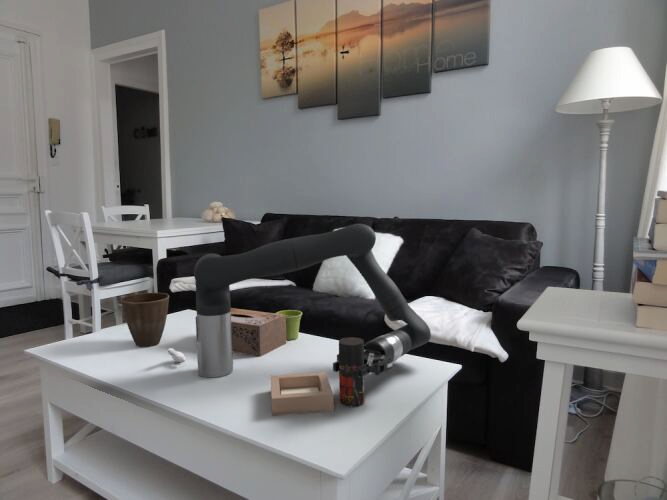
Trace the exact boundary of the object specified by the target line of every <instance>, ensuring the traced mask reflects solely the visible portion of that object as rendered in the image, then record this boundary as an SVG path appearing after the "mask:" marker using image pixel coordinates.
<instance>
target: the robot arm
mask: <svg viewBox="0 0 667 500" xmlns="http://www.w3.org/2000/svg"><path fill="white" fill-rule="evenodd" d="M376 239H377V235H376V233H375V231H374V229H373V228H372V227H370V226H369V225H367V224H364V223H354V224H351V225H348V226H344V227H342V228H339V229H336V230H333V231H328V232H324V233H319V234H310V235H304V236H299V237H292V238H287V239H282V240H277V241H274V242H270V243H268V244H264V245H262V246H259V247H256V248H255V249H251V250H249V251H246V252H243V253H237V254H230V255H220V254H217V253H207V254H204V255H203V256H201V257H200V258H199V259H198V260H197V261H196V264H195V267H194V274H193V276H194V280H195V281H194V282H195V302H196V303H195V306H196V307H195V308H196V310H195V311H196V316H197V330H198V341H197V340H196V351H197V352H196V353H197V355H196V356H197V371H198V372H197V373H198V374H197V376H198V377H204V378H218V377H219V378H220V377H224V376H227V375H229V374H231V373H233V371H234V361H233V360H234V358H233V357H234V356H233V352H232V329H231V308H232V307H231V291H230V288H231V287H230V286H231V285H234V284H237V283H240V282H244V281H246V280H247V281H248V280H251V279H257V278H265V277H266V278H267V277H270V276H271V277H272V276H277V275H282V274H287V273H291V272H297V271H300V270H303V269H306V268H309V267H312V266H314V265H315V266H316V265H317V264H319V263H322V262H324V261H326V260H329V259H334V258H338V257H344V256H345V257H347V259H348V260H349V261H350V262H351V264H352V265H353V266H354V267H355V269H357V271H358V272H359V274H360V276H361V277H362V278H363V279H364V281H365V282H366V284H367V285H368V287H369V288H370V291H372V293H373V295H374V297H375V298H376V300H377V302H378V304H379V305H380V307H381V309H382V311H383V312H384V314H385V316H386V317H387V319H388V320H389V321H391V322H396V321H402V322H404V323H405V325H403V326H401V327H399V328H397V329H395V330H393V331H391V332H388V333H386V334H383V335H380V336H377V337H375V338H374V339H372V340H371V339H370V341H367V342H366V343H364V365H362V366H360V367H358V368H357V369H356V377H357V378H360V377H362V376H364V377H365V376H366V375H372V374H373V373H374V376H379V375H382V374H384V373H387V372H389V371H391V370H393V363H394V362H396V361H397V360H398V359H400V358H402V356H405V355H406V354H407V353H408V352H409V351H412V350H414V349H416V348H418V347H421V346H423V345H425V344H427V343H428V342H430V340H431V338H432V333H431V328H430V327H429V325H428V324H427V323H426V321H425V320H424V319H423V318H422V317H421V316H420V315H419V314H417V313H416V311H414V309H413V308H412V307H411V306H410V305H409V304H408V302H407V300H406V298H405V297H404V295H403V294H402V292H401V290H400V289H399V287H398V286H397V284H396V282H394V281H393V280H392V278H391V277H389V275H388V274H387V273H386V272H385V271H384V270H383V268H382V267H381V265H380V264H379V263H378V261H377V259H376V257H375V255H374V254H373V251H372V249H373V248H375V247H374V246H375V244H376ZM332 369H333V370H332V371H333V372H334V373H337V372H338V373H339V353H338V354H336V361H334V362H332Z"/></svg>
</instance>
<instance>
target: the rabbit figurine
mask: <svg viewBox="0 0 667 500" xmlns="http://www.w3.org/2000/svg"><path fill="white" fill-rule="evenodd" d="M167 353H168V354H169V356H171V357H172V360H173V361H174V362H177V363H174V366H181V363H184V362H186V358H185V355H184V354H183V352H181V351H177V350H175V349H174V348H172V347H171V348H168V349H167Z"/></svg>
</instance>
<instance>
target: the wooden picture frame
mask: <svg viewBox="0 0 667 500" xmlns="http://www.w3.org/2000/svg"><path fill="white" fill-rule="evenodd" d="M326 372H327V371H321V372H307V373H305V372H303V373H289V374H276V375H275V374H273V375H270V396H271V415H272V416H282V415H283V416H284V415H297V414H308V413H321V412H323V413H324V412H334V393H333V389H332V387H331V384H330V380H329V378H328V376H327V373H326Z"/></svg>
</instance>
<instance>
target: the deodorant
mask: <svg viewBox="0 0 667 500" xmlns="http://www.w3.org/2000/svg"><path fill="white" fill-rule="evenodd" d="M364 345H365V341H364V339H362V338H359V337H354V336H353V337H351V336H350V337H349V336H348V337H344V338H340V339H339V340H338V354H339V371H338V373H339V374H338V375H339V377H338V380H339V381H338V383H339V384H338V385H339V387H338V388H339V395H338V396H339V404H340V405H341V406H343V407H346V408H358V407H361V406H363V405H364V404H365V376H362V377H360V378H357V377H356V369H357V368H358V367H360V366H362V365H364Z"/></svg>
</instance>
